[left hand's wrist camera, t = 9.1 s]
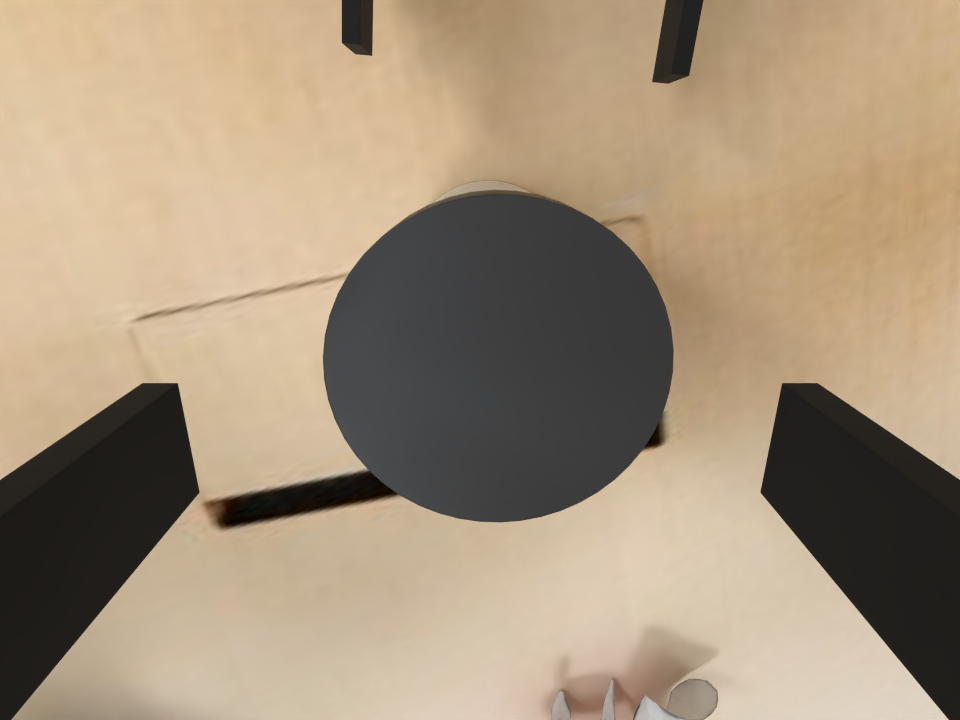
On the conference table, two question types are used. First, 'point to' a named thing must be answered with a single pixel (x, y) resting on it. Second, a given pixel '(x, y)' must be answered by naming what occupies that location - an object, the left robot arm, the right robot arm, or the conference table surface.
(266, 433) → the conference table surface
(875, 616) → the left robot arm
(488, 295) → the lid
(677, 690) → the fish
